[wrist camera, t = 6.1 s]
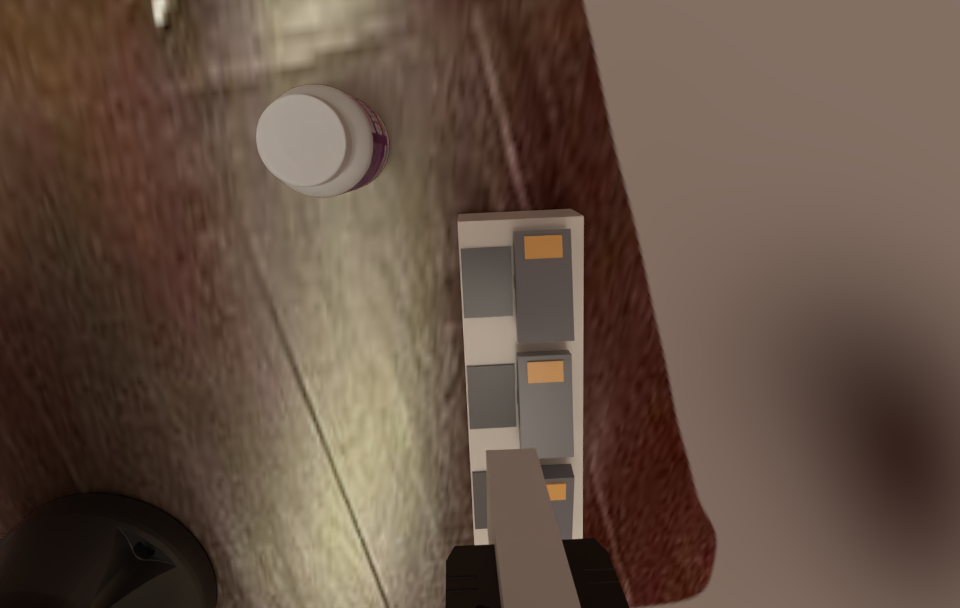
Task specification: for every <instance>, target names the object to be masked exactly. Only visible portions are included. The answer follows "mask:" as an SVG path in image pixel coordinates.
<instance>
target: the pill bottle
mask: <svg viewBox="0 0 960 608" xmlns="http://www.w3.org/2000/svg"><path fill="white" fill-rule="evenodd" d="M256 143H257V148H258V152H259V155H260V157H261V159H262V161H263V163H264V164H265V166H266V167H267V168H268V169H269V171H270V172H271V173H272V174H273V175H275V176H276V177H277V178H279V179H280V180H281V181H282V182H283V183H284V184H286V185H287V186H288V187H290V188H291V189H293V190H295V191H297V192H299V193H301V194H304V195H308V196H313V197H323V198H325V197H333V196H337V195H340V194H343V193H346V192H349V191H352V190H355V189H358V188H360V187H363V186H365V185H367V184H368V183H370V182H371V181H373V180H374V179H375V178H376V177H377V176H378V175H379V174H380V173H381V172H382V170H383V168H384V166H385V164H386V161H387V158H388V154H389V138H388V134H387V131H386V128H385V126H384V124H383V122H382V120H381V118H380V117H379V116H378V114H377V113H376V112H375V111H374V110H373V109H372V108H371V107H370V106H368V105H367V104H366V103H364V102H362V101H360V100H359V99H357V98H355V97H353V96H351V95H348V94H346V93H344V92H342V91H340V90H338V89H336V88H333V87H330V86H327V85H321V84H307V85H301V86H297V87H295V88H292V89H290V90H288V91H286V92H285V93H283V94H282V95H281V96H279V97H278V98H277V99H276V100H275V101H273V102H272V103H271V104H270V105H269V106H268V107H267V108H266V109H265V110H264V112H263V114H262V115H261V117H260V119H259V121H258V125H257V130H256Z"/></svg>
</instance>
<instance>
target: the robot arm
mask: <svg viewBox="0 0 960 608" xmlns="http://www.w3.org/2000/svg"><path fill="white" fill-rule="evenodd" d="M486 482H487V531H488V541H489V545H469V546H455V547H454V548H453V550H452V552H451V554H450V555H449V557H448V559H447V560H446V608H629V606H628V603H627V601H626V598H625V595H624V593H623V590H622V588H621V585H620V583H619V581H618V577H617V575H616V572H615V570H614V568H613V565H612V562H611V559H610V557H609V554H608V552H607V550H606V549H604V548H603V547H602V546H601V545H600V544H599V543H598V542H597V541H596V540H595V539H594V538H586V539H565V540H562V539H561V536H560V532H559V528H558V525H557V521H556V518H555V514H554V511H553V507H552V504H551V500H550V497H549V493H548V490H547V486H546V483H545V479H544V476H543V472H542V468H541V465H540V461H539V458H538V454H537V451H536V448H529V449H504V450H486ZM216 596H217V591H216V581H215V576H214V573H213V570H212V567H211V564H210V562H209V560H208V558H207V556H206V554H205V552H204V551H203V549H202V547H201V546H200V545H199V543H198V542H197V541H196V540H195V538H194V537H193V536H192V535H191V534H190V533H189V532H188V531H187V530H186V529H185V528H184V527H183V526H182V525H181V524H179V523H178V522H177V521H175V520H174V519H173V518H171V517H170V516H168V515H167V514H165V513H163V512H162V511H160V510H158V509H156V508H154V507H152V506H150V505H147V504H145V503H142V502H140V501H137V500H134V499H130V498H126V497H122V496H117V495H110V494H78V495H72V496H67V497H63V498H60V499H56V500H54V501H51V502H49V503H47V504H45V505H42V506H41V507H39V508H37V509H36V510H34V511H33V512H31V513H30V514H29V515H27V516H26V517H25V518H24V519H23V520H22V521H20V522H19V523H18V524H17V525H16V526H14V527H13V528H12V529H11V530H10V531H9V532H7V533H6V534H5V535H4V536H3V537H2V538H1V539H0V608H215V606H216Z"/></svg>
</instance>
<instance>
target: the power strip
mask: <svg viewBox="0 0 960 608" xmlns="http://www.w3.org/2000/svg"><path fill="white" fill-rule="evenodd" d="M457 223H458V242H459V261H460V280H461V299H462V318H463V337H464V356H465V375H466V394H467V413H468V432H469V451H470V469H471V488H472V507H473V526H474V545H489V541H488V531H487V482H486V450H504V449H520V440H519V414H518V388H517V361H516V352H532V351H552V350H569V352H570V353H571V354H572V393H573V434H574V457H561V458H542V459H539V461H540V465H552V464H571V466H572V470H573V474H574V477H575V478H574V503H573V528H572V539H583V297H584V216H583V215H581V214H579V213H578V212H576V211H574V210H572V209H555V210H533V211H511V212H489V213H467V214H458V221H457ZM552 229H571V250H572V280H573V311H574V341H560V342H540V343H520V344H519V343H518V341H517V327H516V303H515V279H514V254H513V232H514V231H530V230H552Z"/></svg>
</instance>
